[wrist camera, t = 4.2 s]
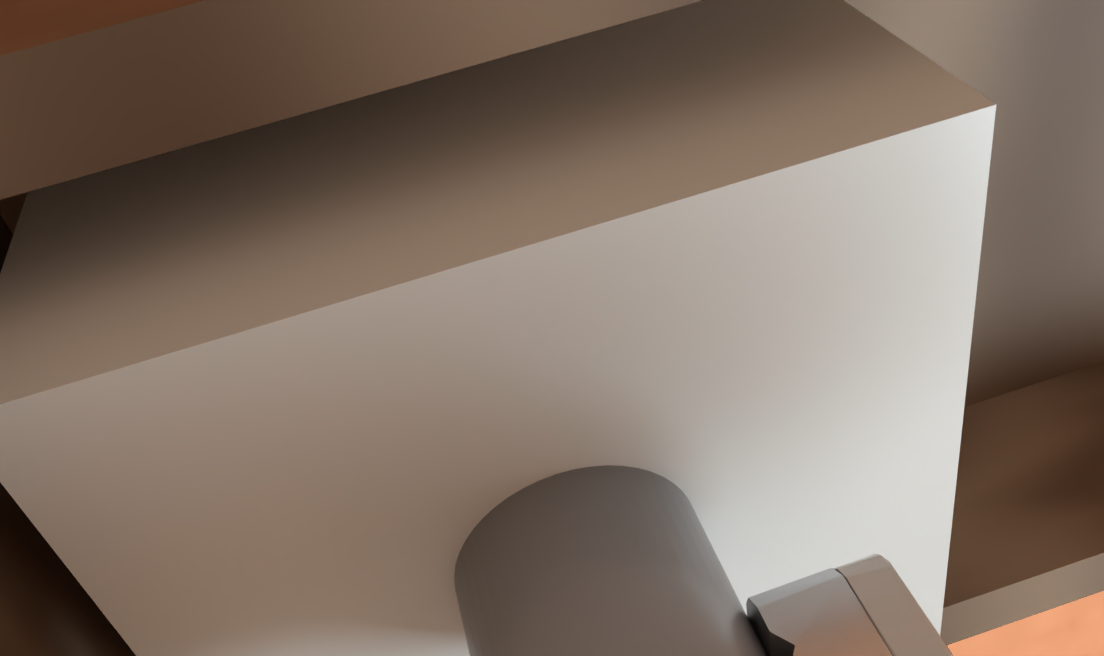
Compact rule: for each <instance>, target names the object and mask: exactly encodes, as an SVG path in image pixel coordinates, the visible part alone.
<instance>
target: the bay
mask: <svg viewBox="0 0 1104 656" xmlns="http://www.w3.org/2000/svg"><path fill="white" fill-rule="evenodd" d="M699 1H702V0H0V273H1V270H2V267H3V264H4V261H5V258H6V255H7V252H8V249H9V246H10V243H11V240H12V237H13V234H14V231H15V228H16V225H17V222H18V219H19V216H20V213H21V210H22V207H23V204H24V202H25V199H26V196H27V193H28V192H29V191H33V190H36V189H40V188H43V187H47V186H51V185H54V184H58V183H61V182H65V181H68V180H72V179H75V178H79V177H82V176H86V175H89V174H93V173H96V172H100V171H103V170H107V169H110V168H114V167H117V166H121V165H124V164H128V163H132V162H135V161H139V160H142V159H146V158H149V157H153V156H156V155H160V154H163V153H167V152H170V151H174V150H177V149H181V148H184V147H188V146H191V145H195V144H198V143H202V142H206V141H209V140H213V139H216V138H220V137H223V136H227V135H230V134H234V133H237V132H241V131H244V130H248V129H251V128H255V127H258V126H262V125H265V124H269V123H272V122H276V121H280V120H283V119H287V118H290V117H294V116H297V115H301V114H304V113H308V112H311V111H315V110H318V109H322V108H325V107H329V106H332V105H336V104H339V103H343V102H346V101H350V100H354V99H357V98H361V97H364V96H368V95H371V94H375V93H378V92H382V91H385V90H389V89H392V88H396V87H399V86H403V85H406V84H410V83H413V82H417V81H420V80H424V79H428V78H431V77H435V76H438V75H442V74H445V73H449V72H452V71H456V70H459V69H463V68H466V67H470V66H473V65H477V64H480V63H484V62H487V61H491V60H494V59H498V58H502V57H505V56H509V55H512V54H516V53H519V52H523V51H526V50H530V49H533V48H537V47H540V46H544V45H547V44H551V43H554V42H558V41H561V40H565V39H568V38H572V37H576V36H579V35H583V34H586V33H590V32H593V31H597V30H600V29H604V28H607V27H611V26H614V25H618V24H621V23H625V22H628V21H632V20H635V19H639V18H642V17H646V16H650V15H653V14H657V13H660V12H664V11H667V10H671V9H674V8H678V7H681V6H685V5H688V4H692V3H695V2H699ZM844 1H845V2H847V3H848V4H850V5H851V6H853V7H854V8H856V9H857V10H858V11H860V12H861V13H863V14H864V15H866V16H867V17H869V18H870V19H872V20H873V21H875V22H876V23H878V24H879V25H880V26H882V27H883V28H885V29H886V30H888V31H889V32H891V33H892V34H894V35H895V36H897V37H898V38H900V39H901V40H902V41H904V42H905V43H907V44H908V45H910V46H911V47H913V48H914V49H916V50H917V51H919V52H920V53H922V54H923V55H924V56H926V57H927V58H929V59H930V60H932V61H933V62H935V63H936V64H938V65H939V66H941V67H942V68H944V69H945V70H946V71H948V72H949V73H951V74H952V75H954V76H955V77H957V78H958V79H960V80H961V81H963V82H964V83H966V84H967V85H968V86H970V87H971V88H973V89H974V90H976V91H977V92H979V93H980V94H982V95H983V96H985V97H986V98H988V99H989V100H990V101H992V102H993V103H995V104H996V113H995V122H994V132H993V141H992V151H991V160H990V170H989V179H988V188H987V198H986V207H985V217H984V226H983V236H982V245H981V255H980V264H979V273H978V283H977V292H976V302H975V311H974V321H973V330H972V340H971V349H970V358H969V368H968V377H967V387H966V396H965V406H964V415H963V424H962V434H961V443H960V453H959V462H958V472H957V481H956V491H955V500H954V509H953V519H952V528H951V538H950V547H949V557H948V566H947V576H946V585H945V594H944V604H943V613H942V623H941V632H940V637H941V638H942V640H943V641H944V643H945V644H946V645H949V644H952V643H955V642H958V641H960V640H963V639H966V638H969V637H972V636H975V635H978V634H980V633H983V632H986V631H989V630H992V629H995V628H998V627H1001V626H1003V625H1006V624H1009V623H1012V622H1015V621H1018V620H1021V619H1023V618H1026V617H1029V616H1032V615H1035V614H1038V613H1041V612H1043V611H1046V610H1049V609H1052V608H1055V607H1058V606H1061V605H1064V604H1066V603H1069V602H1072V601H1075V600H1078V599H1081V598H1084V597H1086V596H1089V595H1092V594H1095V593H1098V592H1101V591H1104V0H844ZM0 656H136V655H135V653H134V652H133V651H132V650H131V648H130V647H129V646H128V645H127V643H126V642H125V641H124V639H123V638H122V637H121V636H120V634H119V633H118V632H117V630H116V629H115V628H114V627H113V625H112V624H111V623H110V622H109V620H108V619H107V618H106V616H105V615H104V614H103V613H102V611H101V610H100V609H99V608H98V606H97V605H96V604H95V602H94V601H93V600H92V599H91V597H90V596H89V595H88V593H87V592H86V591H85V590H84V588H83V587H82V586H81V585H80V583H79V582H78V581H77V579H76V578H75V577H74V576H73V574H72V573H71V572H70V571H69V569H68V568H67V567H66V565H65V564H64V563H63V562H62V560H61V559H60V558H59V556H58V555H57V554H56V553H55V551H54V550H53V549H52V548H51V546H50V545H49V544H48V542H47V541H46V540H45V539H44V537H43V536H42V535H41V533H40V532H39V531H38V530H37V528H36V527H35V526H34V525H33V523H32V522H31V521H30V519H29V518H28V517H27V516H26V514H25V513H24V512H23V511H22V509H21V508H20V507H19V505H18V504H17V503H16V502H15V500H14V499H13V498H12V496H11V495H10V494H9V493H8V491H7V490H6V489H5V488H4V486H3V485H2V484H1V482H0Z"/></svg>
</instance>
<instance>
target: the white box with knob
mask: <svg viewBox="0 0 1104 656" xmlns="http://www.w3.org/2000/svg"><path fill="white" fill-rule="evenodd" d="M995 113H996V104H995V103H993V102H992V101H990V100H989V99H988V98H986V97H985V96H983V95H982V94H980V93H979V92H977V91H976V90H974V89H973V88H971V87H970V86H968V85H967V84H966V83H964V82H963V81H961V80H960V79H958V78H957V77H955V76H954V75H952V74H951V73H949V72H948V71H946V70H945V69H944V68H942V67H941V66H939V65H938V64H936V63H935V62H933V61H932V60H930V59H929V58H927V57H926V56H924V55H923V54H922V53H920V52H919V51H917V50H916V49H914V48H913V47H911V46H910V45H908V44H907V43H905V42H904V41H902V40H901V39H900V38H898V37H897V36H895V35H894V34H892V33H891V32H889V31H888V30H886V29H885V28H883V27H882V26H880V25H879V24H878V23H876V22H875V21H873V20H872V19H870V18H869V17H867V16H866V15H864V14H863V13H861V12H860V11H858V10H857V9H856V8H854V7H853V6H851V5H850V4H848V3H847V2H845V1H844V0H702V1H699V2H695V3H692V4H688V5H685V6H681V7H678V8H674V9H671V10H667V11H664V12H660V13H657V14H653V15H650V16H646V17H642V18H639V19H635V20H632V21H628V22H625V23H621V24H618V25H614V26H611V27H607V28H604V29H600V30H597V31H593V32H590V33H586V34H583V35H579V36H576V37H572V38H568V39H565V40H561V41H558V42H554V43H551V44H547V45H544V46H540V47H537V48H533V49H530V50H526V51H523V52H519V53H516V54H512V55H509V56H505V57H502V58H498V59H494V60H491V61H487V62H484V63H480V64H477V65H473V66H470V67H466V68H463V69H459V70H456V71H452V72H449V73H445V74H442V75H438V76H435V77H431V78H428V79H424V80H420V81H417V82H413V83H410V84H406V85H403V86H399V87H396V88H392V89H389V90H385V91H382V92H378V93H375V94H371V95H368V96H364V97H361V98H357V99H354V100H350V101H346V102H343V103H339V104H336V105H332V106H329V107H325V108H322V109H318V110H315V111H311V112H308V113H304V114H301V115H297V116H294V117H290V118H287V119H283V120H280V121H276V122H272V123H269V124H265V125H262V126H258V127H255V128H251V129H248V130H244V131H241V132H237V133H234V134H230V135H227V136H223V137H220V138H216V139H213V140H209V141H206V142H202V143H198V144H195V145H191V146H188V147H184V148H181V149H177V150H174V151H170V152H167V153H163V154H160V155H156V156H153V157H149V158H146V159H142V160H139V161H135V162H132V163H128V164H124V165H121V166H117V167H114V168H110V169H107V170H103V171H100V172H96V173H93V174H89V175H86V176H82V177H79V178H75V179H72V180H68V181H65V182H61V183H58V184H54V185H51V186H47V187H43V188H40V189H36V190H33V191H29V192H28V193H27V196H26V199H25V202H24V204H23V207H22V210H21V213H20V216H19V219H18V222H17V225H16V228H15V231H14V234H13V237H12V240H11V243H10V246H9V249H8V252H7V255H6V258H5V261H4V264H3V267H2V270H1V273H0V482H1V484H2V485H3V486H4V488H5V489H6V490H7V491H8V493H9V494H10V495H11V496H12V498H13V499H14V500H15V502H16V503H17V504H18V505H19V507H20V508H21V509H22V511H23V512H24V513H25V514H26V516H27V517H28V518H29V519H30V521H31V522H32V523H33V525H34V526H35V527H36V528H37V530H38V531H39V532H40V533H41V535H42V536H43V537H44V539H45V540H46V541H47V542H48V544H49V545H50V546H51V548H52V549H53V550H54V551H55V553H56V554H57V555H58V556H59V558H60V559H61V560H62V562H63V563H64V564H65V565H66V567H67V568H68V569H69V571H70V572H71V573H72V574H73V576H74V577H75V578H76V579H77V581H78V582H79V583H80V585H81V586H82V587H83V588H84V590H85V591H86V592H87V593H88V595H89V596H90V597H91V599H92V600H93V601H94V602H95V604H96V605H97V606H98V608H99V609H100V610H101V611H102V613H103V614H104V615H105V616H106V618H107V619H108V620H109V622H110V623H111V624H112V625H113V627H114V628H115V629H116V630H117V632H118V633H119V634H120V636H121V637H122V638H123V639H124V641H125V642H126V643H127V645H128V646H129V647H130V648H131V650H132V651H133V652H134V653H135V655H136V656H767V655H766V653H765V651H764V649H763V647H762V645H761V643H760V641H759V639H758V637H757V635H756V633H755V631H754V629H753V627H752V625H751V623H750V621H749V619H748V617H747V608H746V602H747V600H748V597H751V596H754V595H757V594H760V593H762V592H765V591H768V590H771V589H774V588H776V587H779V586H782V585H785V584H787V583H790V582H793V581H796V580H799V579H801V578H804V577H807V576H810V575H813V574H815V573H818V572H821V571H824V570H826V569H829V568H835V567H838V566H841V565H844V564H847V563H850V562H853V561H855V560H858V559H861V558H864V557H867V556H870V555H872V554H880V555H881V556H883V557H884V558H885V559H887V560H888V561H889V562H890V563H891V564H892V566H893V567H894V569H895V570H896V572H897V573H898V575H899V576H900V578H901V579H902V581H903V582H904V584H905V585H906V587H907V588H908V590H909V591H910V592H911V594H912V595H913V597H914V598H915V600H916V601H917V603H918V604H919V606H920V607H921V609H922V610H923V612H924V613H925V615H926V616H927V618H928V619H929V620H930V622H931V623H932V625H933V626H934V628H935V629H936V631H937V632H938V634H939V635H940V632H941V623H942V613H943V604H944V594H945V585H946V576H947V566H948V557H949V547H950V538H951V528H952V519H953V509H954V500H955V491H956V481H957V472H958V462H959V453H960V443H961V434H962V424H963V415H964V406H965V396H966V387H967V377H968V368H969V358H970V349H971V340H972V330H973V321H974V311H975V302H976V292H977V283H978V273H979V264H980V255H981V245H982V236H983V226H984V217H985V207H986V198H987V188H988V179H989V170H990V160H991V151H992V141H993V132H994V122H995Z"/></svg>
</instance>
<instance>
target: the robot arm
mask: <svg viewBox="0 0 1104 656" xmlns="http://www.w3.org/2000/svg"><path fill="white" fill-rule="evenodd" d="M746 608H747V617H748V619H749V621H750V623H751V625H752V627H753V629H754V631H755V633H756V635H757V637H758V639H759V641H760V643H761V645H762V647H763V649H764V651H765V653H766V655H767V656H953V654H952V653H951V651H950V650H949V648H948V647H947V646H946V644H945V643H944V641H943V640H942V638H941V637H940V635H939V634H938V632H937V631H936V629H935V628H934V626H933V625H932V623H931V622H930V620H929V619H928V618H927V616H926V615H925V613H924V612H923V610H922V609H921V607H920V606H919V604H918V603H917V601H916V600H915V598H914V597H913V595H912V594H911V592H910V591H909V590H908V588H907V587H906V585H905V584H904V582H903V581H902V579H901V578H900V576H899V575H898V573H897V572H896V570H895V569H894V567H893V566H892V564H891V563H890V562H889V561H888V560H887V559H885V558H884V557H883V556H881V555H880V554H872V555H870V556H867V557H864V558H861V559H858V560H855V561H853V562H850V563H847V564H844V565H841V566H838V567H835V568H829V569H826V570H824V571H821V572H818V573H815V574H813V575H810V576H807V577H804V578H801V579H799V580H796V581H793V582H790V583H787V584H785V585H782V586H779V587H776V588H774V589H771V590H768V591H765V592H762V593H760V594H757V595H754V596H751V597H748V600H747V602H746Z"/></svg>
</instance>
